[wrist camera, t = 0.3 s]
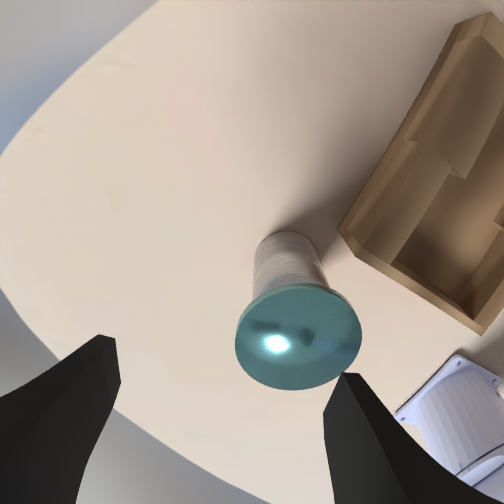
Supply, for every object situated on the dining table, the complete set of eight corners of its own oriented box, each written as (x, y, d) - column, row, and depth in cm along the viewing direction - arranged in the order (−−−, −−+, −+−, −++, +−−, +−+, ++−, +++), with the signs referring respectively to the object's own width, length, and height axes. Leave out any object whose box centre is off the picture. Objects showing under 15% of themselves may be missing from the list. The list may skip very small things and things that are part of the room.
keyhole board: (550, 136, 14) (585, 145, 10) (455, 305, 19) (481, 336, 16) (455, 24, 12) (491, 11, 9) (337, 229, 17) (355, 256, 14)
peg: (341, 246, 18) (386, 323, 11) (298, 307, 19) (314, 402, 12) (270, 205, 17) (277, 267, 10) (230, 274, 19) (213, 364, 12)
